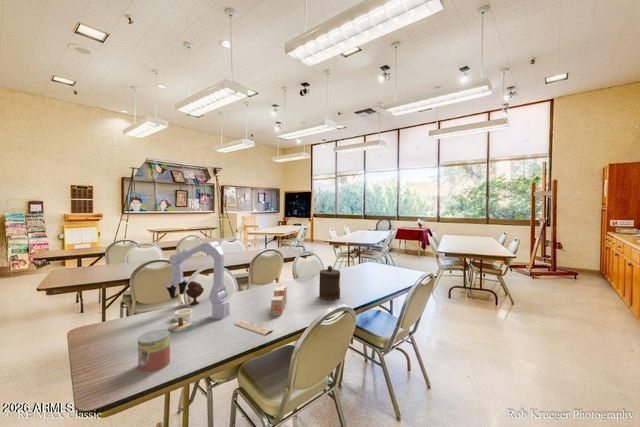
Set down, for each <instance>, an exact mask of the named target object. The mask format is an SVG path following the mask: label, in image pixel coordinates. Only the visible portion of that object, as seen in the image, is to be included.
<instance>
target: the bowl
mask: <svg viewBox="0 0 640 427" xmlns="http://www.w3.org/2000/svg"><path fill="white" fill-rule="evenodd" d="M193 310H194V309H192V308H182V309H178V310H176V311H174V321H175V322H178V318H180V317H183V321H189V320H191V319H193V315H194V314H193V313H194V311H193Z"/></svg>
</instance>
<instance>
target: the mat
mask: <svg viewBox="0 0 640 427" xmlns="http://www.w3.org/2000/svg"><path fill="white" fill-rule="evenodd" d="M190 322H191V323H192V327H191V328H190V329H188V330H185V331H180V332H179V333H182V332H183V333H186V332H192V330H193V328H194V325H195V321H190ZM172 324H173V323H171V324H170V325H172ZM166 330H167V331H169V332H170V334H175V333H178V332H172V331H170V330H169V327H168V329H166Z"/></svg>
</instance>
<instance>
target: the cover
mask: <svg viewBox="0 0 640 427" xmlns="http://www.w3.org/2000/svg"><path fill="white" fill-rule="evenodd" d="M191 322H192V321H189V320H187V321H183V317H180V318H178V321H176V322H175V323H171V324H172V325H171V324H169V326H168V328H169V330H170V331H172V332H177V333H181V332H180V331H185V330H188V329H190V328H191V327H192V323H191ZM185 332H186V331H185Z"/></svg>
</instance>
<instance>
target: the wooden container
mask: <svg viewBox="0 0 640 427" xmlns="http://www.w3.org/2000/svg"><path fill="white" fill-rule="evenodd" d="M318 286H319V288H318V289H319V291H318V292H319V293H318V294H319V298H320V299H322V300H326V301H329V300H330V301H331V300H337V299H338V300H339V299H340V298H341V270H338V269H333V266H332V265H328V266H327V269H325V268H324V269H320V270H319V284H318Z"/></svg>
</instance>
